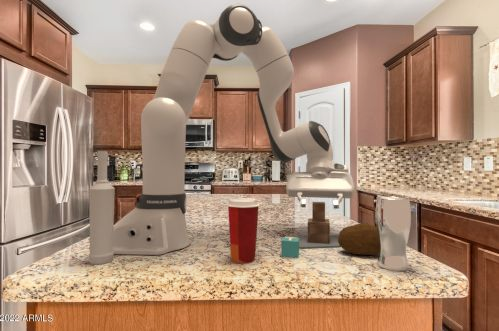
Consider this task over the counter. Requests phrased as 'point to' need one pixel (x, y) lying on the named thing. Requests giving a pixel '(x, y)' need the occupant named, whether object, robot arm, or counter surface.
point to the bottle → (101, 215)
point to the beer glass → (393, 231)
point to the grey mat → (304, 243)
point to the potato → (359, 239)
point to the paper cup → (243, 228)
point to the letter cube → (290, 247)
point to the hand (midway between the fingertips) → (319, 206)
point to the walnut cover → (318, 225)
